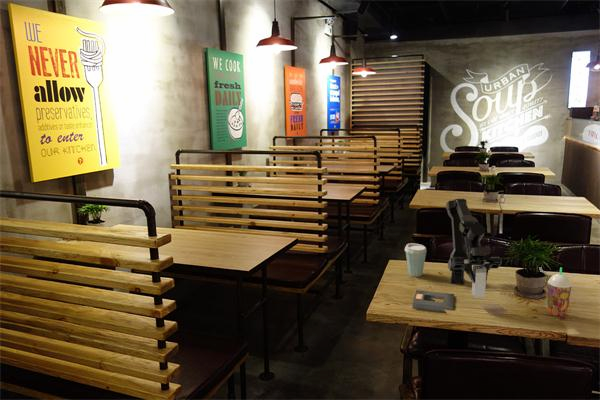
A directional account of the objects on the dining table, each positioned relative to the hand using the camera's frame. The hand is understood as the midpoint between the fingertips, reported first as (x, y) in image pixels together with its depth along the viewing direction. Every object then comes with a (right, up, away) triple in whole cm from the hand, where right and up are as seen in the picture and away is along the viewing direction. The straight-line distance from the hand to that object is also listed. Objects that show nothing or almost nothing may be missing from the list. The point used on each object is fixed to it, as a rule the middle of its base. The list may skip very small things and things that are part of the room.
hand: (479, 282), depth 188 cm
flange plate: (-15, -11, +13) cm, 23 cm away
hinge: (+40, -5, +36) cm, 54 cm away
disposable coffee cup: (-15, -5, +46) cm, 48 cm away
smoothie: (+30, -13, -1) cm, 33 cm away
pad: (+7, -13, +3) cm, 15 cm away
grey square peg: (0, -6, +3) cm, 6 cm away
